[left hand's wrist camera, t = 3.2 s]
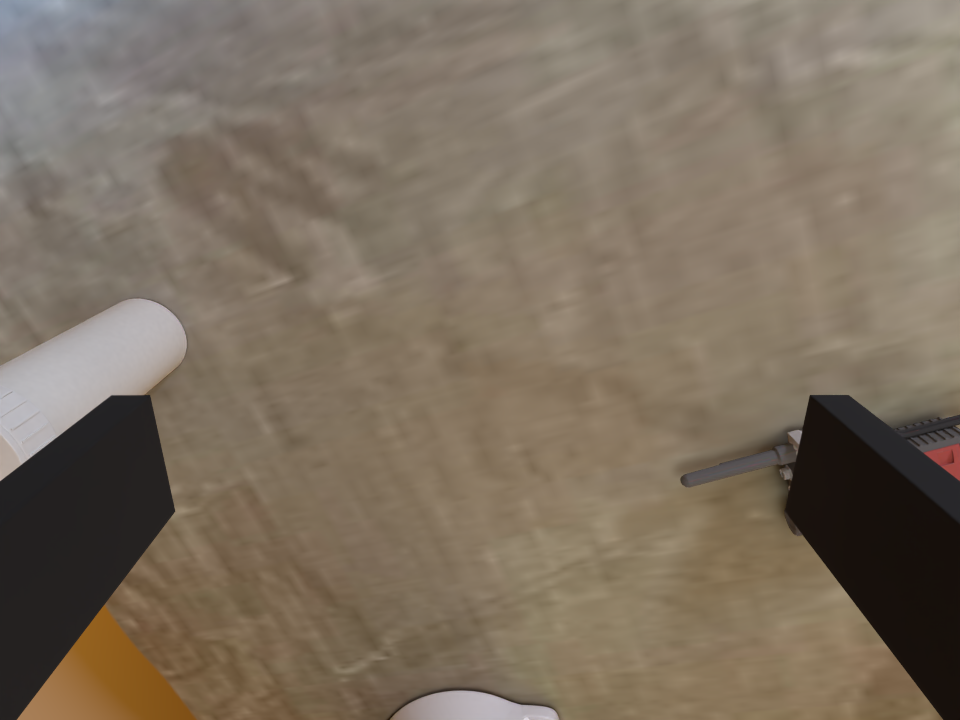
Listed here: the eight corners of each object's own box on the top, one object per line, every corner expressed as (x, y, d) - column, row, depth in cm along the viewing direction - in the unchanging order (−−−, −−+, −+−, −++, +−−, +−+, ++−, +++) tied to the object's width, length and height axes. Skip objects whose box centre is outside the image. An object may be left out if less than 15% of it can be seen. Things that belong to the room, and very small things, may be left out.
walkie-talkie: (962, 380, 42) (672, 459, 45) (1014, 409, 38) (691, 494, 41) (966, 485, 46) (695, 553, 48) (1014, 522, 41) (715, 595, 44)
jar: (137, 387, 43) (-44, 533, 28) (86, 318, 41) (-136, 436, 26) (203, 355, 42) (52, 489, 27) (154, 284, 40) (-36, 386, 25)
